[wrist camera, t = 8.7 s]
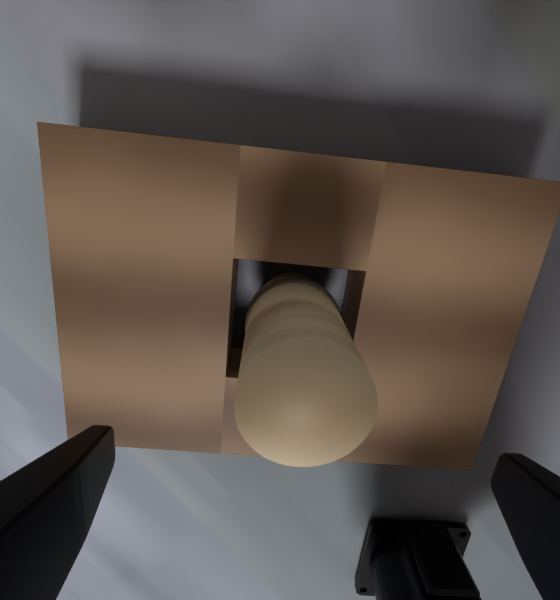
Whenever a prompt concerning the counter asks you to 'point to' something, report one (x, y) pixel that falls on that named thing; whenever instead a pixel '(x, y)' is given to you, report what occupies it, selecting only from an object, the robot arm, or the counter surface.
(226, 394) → the walnut board
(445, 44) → the counter surface
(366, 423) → the birch peg
